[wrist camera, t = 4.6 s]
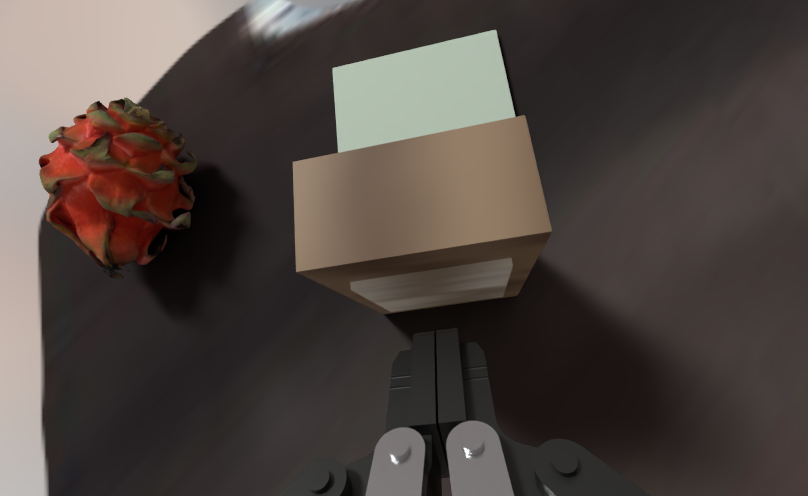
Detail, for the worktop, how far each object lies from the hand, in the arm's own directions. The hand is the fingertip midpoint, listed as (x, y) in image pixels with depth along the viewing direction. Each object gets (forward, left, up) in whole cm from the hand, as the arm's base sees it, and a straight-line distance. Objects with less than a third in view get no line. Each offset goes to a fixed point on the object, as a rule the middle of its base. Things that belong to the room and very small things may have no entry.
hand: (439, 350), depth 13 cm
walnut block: (0, -5, -10) cm, 11 cm away
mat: (0, -14, -10) cm, 17 cm away
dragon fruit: (+20, -13, -10) cm, 26 cm away
